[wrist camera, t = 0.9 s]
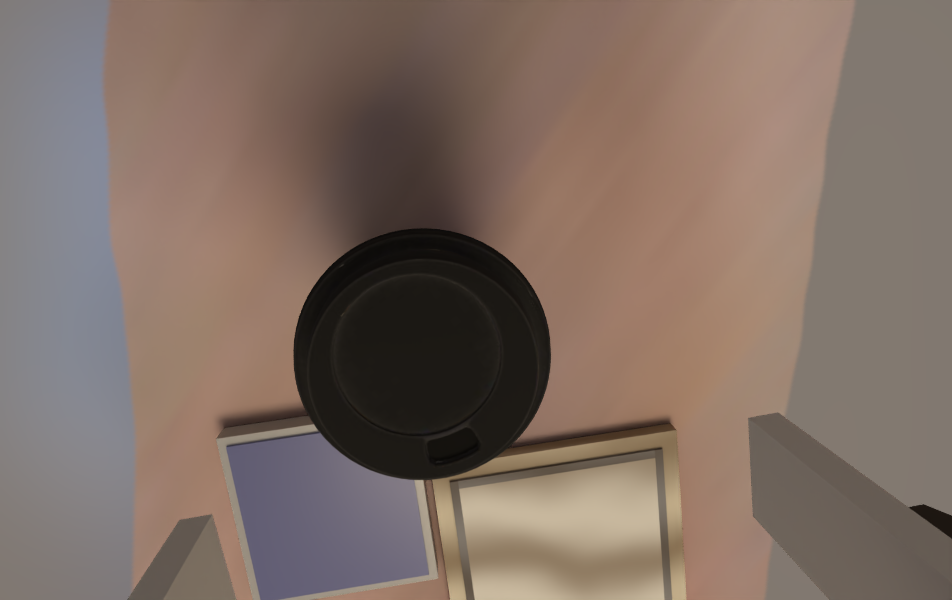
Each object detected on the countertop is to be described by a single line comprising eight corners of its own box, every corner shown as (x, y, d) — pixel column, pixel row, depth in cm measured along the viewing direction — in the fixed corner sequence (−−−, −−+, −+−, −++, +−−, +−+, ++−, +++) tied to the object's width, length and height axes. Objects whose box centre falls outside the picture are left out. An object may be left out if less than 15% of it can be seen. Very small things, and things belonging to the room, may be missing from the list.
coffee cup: (426, 400, 37) (432, 550, 23) (303, 294, 35) (221, 384, 21) (537, 285, 36) (617, 363, 22) (417, 170, 34) (416, 172, 20)
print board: (430, 460, 38) (430, 469, 37) (670, 423, 39) (677, 431, 38) (461, 668, 41) (462, 683, 40) (682, 630, 42) (690, 643, 41)
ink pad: (224, 428, 36) (214, 440, 35) (412, 400, 37) (412, 411, 35) (261, 592, 39) (254, 611, 37) (437, 563, 40) (438, 580, 38)
